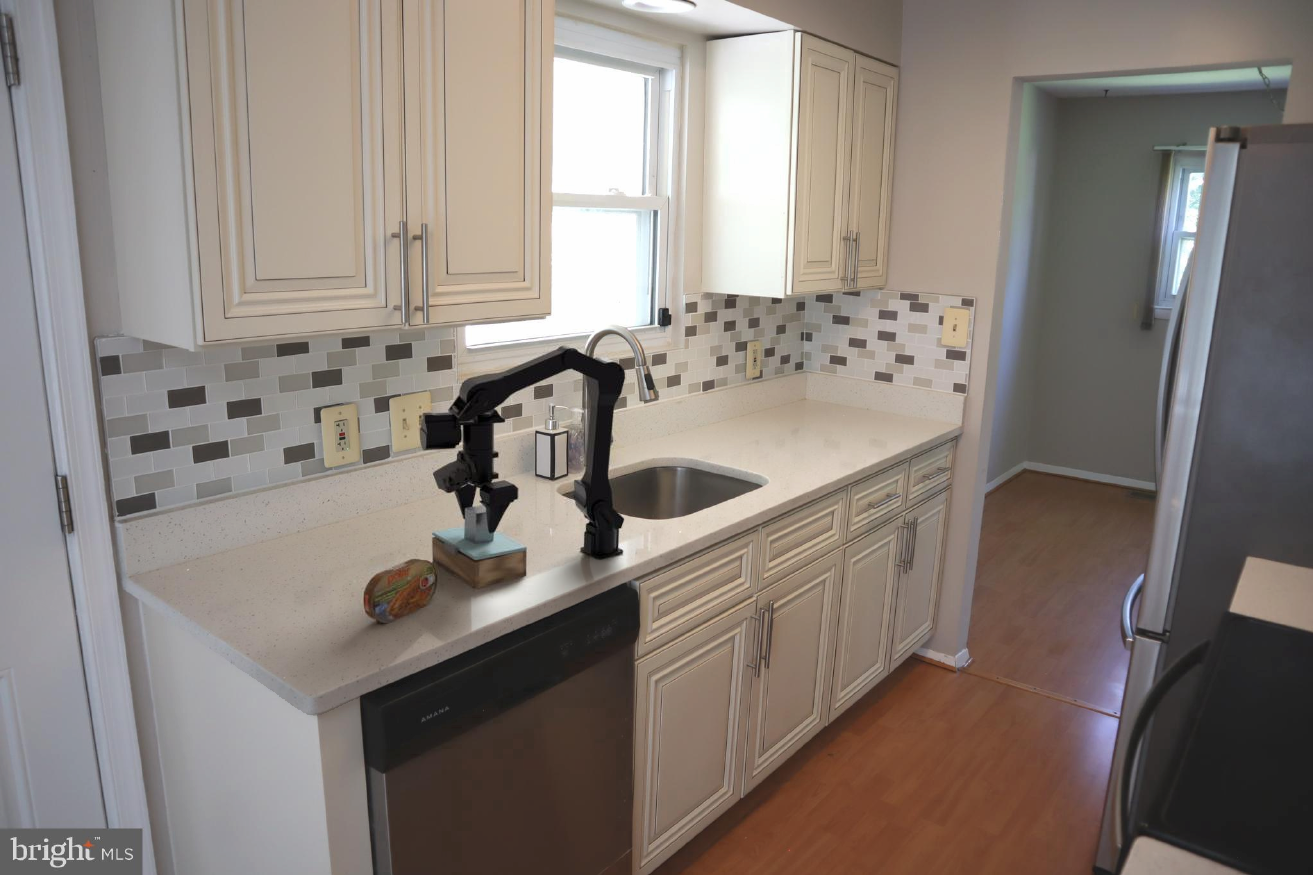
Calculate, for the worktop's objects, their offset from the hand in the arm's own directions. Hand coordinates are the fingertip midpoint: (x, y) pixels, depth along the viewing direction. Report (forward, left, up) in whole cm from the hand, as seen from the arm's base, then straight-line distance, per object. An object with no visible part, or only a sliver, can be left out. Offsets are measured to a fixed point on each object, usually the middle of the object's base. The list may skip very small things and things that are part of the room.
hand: (478, 525), depth 174 cm
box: (0, 0, -9) cm, 9 cm away
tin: (+21, +9, -9) cm, 24 cm away
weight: (0, 0, -3) cm, 3 cm away
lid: (0, 0, -4) cm, 4 cm away
